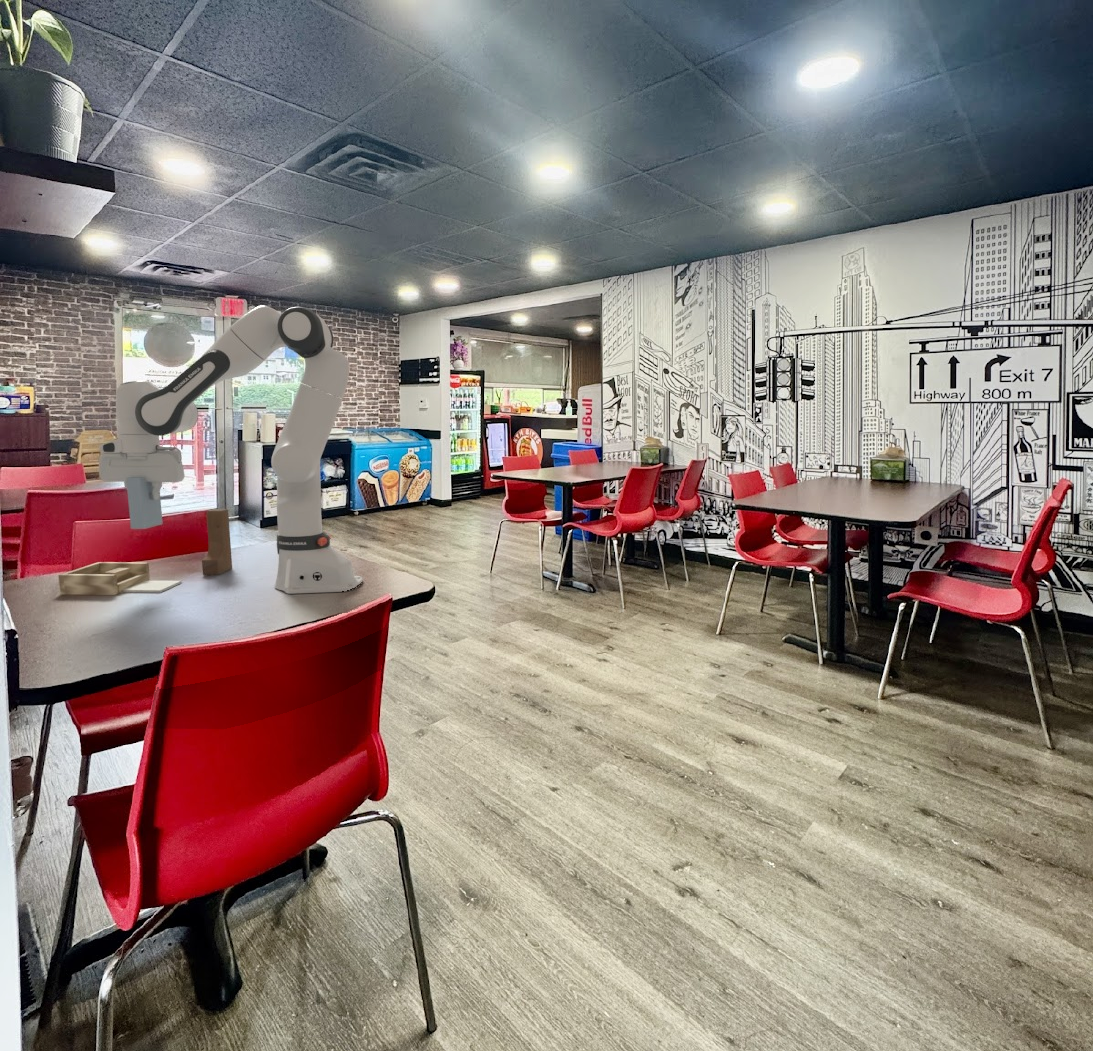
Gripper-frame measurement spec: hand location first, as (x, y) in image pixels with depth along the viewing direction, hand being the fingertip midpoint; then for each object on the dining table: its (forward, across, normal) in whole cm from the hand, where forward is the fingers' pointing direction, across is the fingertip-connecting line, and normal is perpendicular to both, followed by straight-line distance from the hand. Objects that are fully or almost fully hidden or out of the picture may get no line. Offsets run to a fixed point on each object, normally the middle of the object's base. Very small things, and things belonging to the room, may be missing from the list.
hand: (144, 499), depth 173 cm
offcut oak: (+21, +9, 0) cm, 23 cm away
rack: (+24, +12, 0) cm, 26 cm away
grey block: (+7, 0, 0) cm, 7 cm away
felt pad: (+24, 0, 0) cm, 24 cm away
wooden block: (+24, -8, -18) cm, 31 cm away
